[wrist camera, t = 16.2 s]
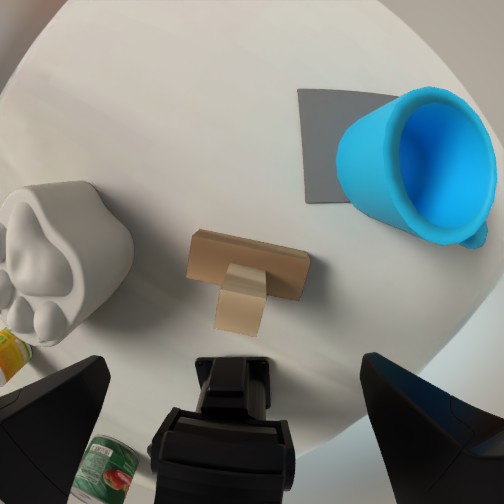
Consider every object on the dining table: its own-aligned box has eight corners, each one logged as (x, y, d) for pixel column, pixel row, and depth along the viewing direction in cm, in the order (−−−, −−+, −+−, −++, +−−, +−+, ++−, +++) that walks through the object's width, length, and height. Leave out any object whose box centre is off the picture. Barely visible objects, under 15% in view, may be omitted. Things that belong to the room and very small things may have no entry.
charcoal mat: (448, 202, 19) (450, 202, 19) (305, 202, 20) (306, 202, 19) (442, 106, 17) (443, 105, 17) (297, 89, 17) (297, 88, 17)
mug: (313, 170, 19) (347, 165, 11) (375, 94, 17) (430, 58, 9) (416, 269, 20) (473, 310, 12) (465, 198, 18) (531, 212, 11)
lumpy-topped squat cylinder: (149, 254, 21) (92, 298, 13) (78, 332, 24) (31, 380, 15) (77, 164, 19) (3, 167, 11) (21, 258, 22) (-35, 285, 13)
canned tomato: (150, 464, 30) (131, 519, 19) (117, 464, 31) (97, 511, 20) (114, 432, 28) (85, 490, 17) (84, 434, 29) (56, 483, 18)
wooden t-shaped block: (293, 295, 22) (305, 345, 15) (193, 274, 21) (164, 316, 15) (305, 251, 21) (325, 286, 14) (200, 228, 20) (171, 253, 14)
